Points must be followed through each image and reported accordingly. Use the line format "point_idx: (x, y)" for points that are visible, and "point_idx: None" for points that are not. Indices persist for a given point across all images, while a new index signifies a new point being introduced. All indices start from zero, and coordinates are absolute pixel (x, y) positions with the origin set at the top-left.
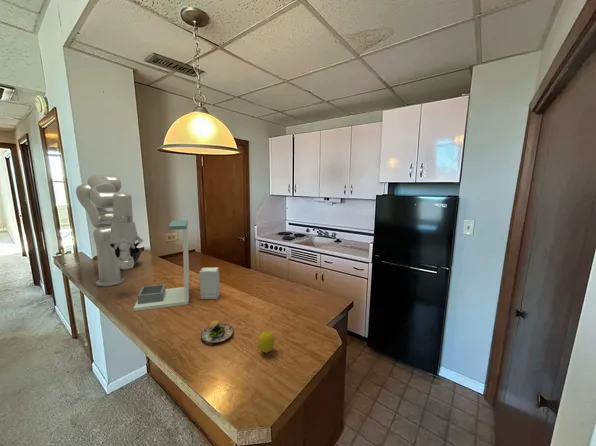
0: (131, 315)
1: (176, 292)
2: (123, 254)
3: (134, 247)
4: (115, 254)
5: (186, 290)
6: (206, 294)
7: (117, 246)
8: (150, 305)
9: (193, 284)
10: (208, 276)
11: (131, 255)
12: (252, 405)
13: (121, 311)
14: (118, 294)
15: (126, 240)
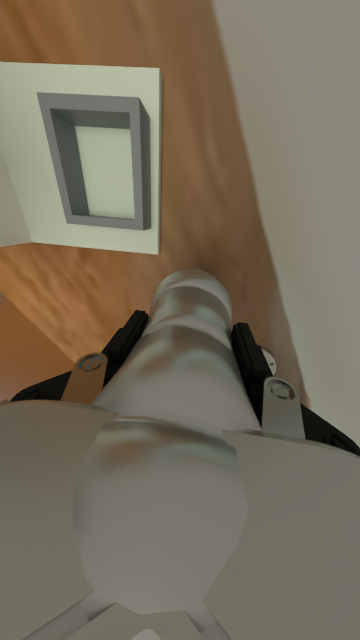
0: (163, 20)
1: (45, 197)
2: (196, 313)
3: (85, 363)
4: (258, 347)
5: None
6: None
7: (260, 409)
8: (98, 72)
9: (33, 275)
10: None
11: (144, 316)
12: None
13: (204, 100)
14: (222, 279)
15: (83, 487)
